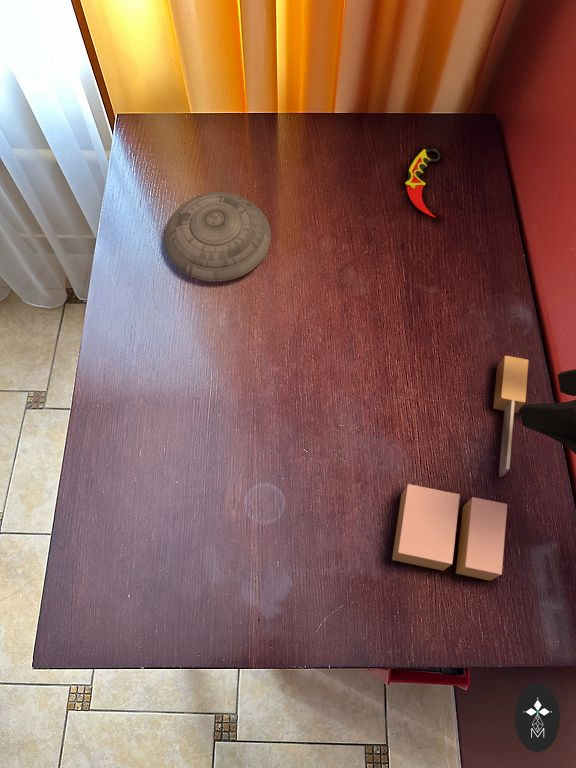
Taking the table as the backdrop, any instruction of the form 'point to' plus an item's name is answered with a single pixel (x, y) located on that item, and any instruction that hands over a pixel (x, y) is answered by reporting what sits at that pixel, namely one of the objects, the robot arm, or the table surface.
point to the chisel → (509, 400)
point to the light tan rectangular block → (482, 539)
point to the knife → (415, 183)
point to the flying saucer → (217, 236)
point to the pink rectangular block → (426, 527)
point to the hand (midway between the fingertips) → (542, 398)
